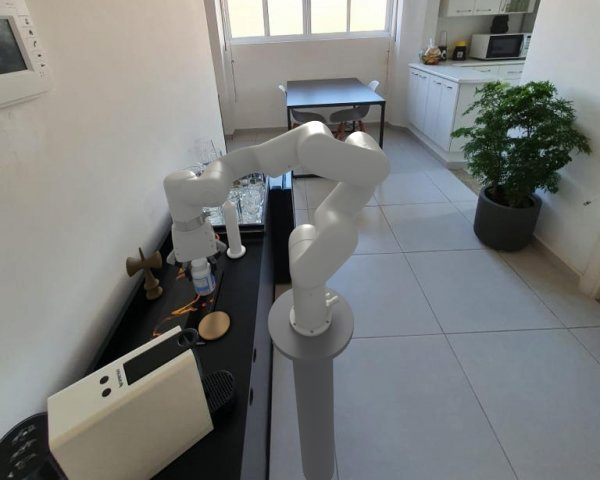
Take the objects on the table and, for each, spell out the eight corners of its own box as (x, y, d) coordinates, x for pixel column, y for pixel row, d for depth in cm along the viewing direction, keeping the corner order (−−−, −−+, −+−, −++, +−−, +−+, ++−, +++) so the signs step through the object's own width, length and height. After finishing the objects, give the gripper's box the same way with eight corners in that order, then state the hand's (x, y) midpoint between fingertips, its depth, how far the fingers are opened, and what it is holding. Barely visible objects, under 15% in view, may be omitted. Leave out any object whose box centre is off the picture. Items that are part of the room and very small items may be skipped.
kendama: (140, 292, 105) (123, 245, 97) (170, 284, 108) (156, 237, 100) (138, 306, 100) (120, 257, 92) (169, 297, 102) (155, 249, 94)
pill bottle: (206, 278, 89) (200, 251, 85) (219, 285, 87) (214, 257, 83) (191, 291, 85) (184, 264, 81) (205, 299, 82) (198, 271, 78)
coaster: (223, 307, 97) (223, 306, 97) (234, 329, 90) (234, 327, 90) (195, 322, 93) (194, 320, 93) (203, 346, 86) (203, 344, 86)
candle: (228, 247, 124) (218, 193, 114) (245, 245, 125) (237, 191, 114) (226, 259, 118) (215, 203, 107) (245, 257, 118) (236, 201, 108)
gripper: (223, 204, 82) (232, 258, 89) (153, 218, 77) (169, 273, 85) (225, 220, 75) (235, 276, 83) (150, 236, 71) (167, 294, 78)
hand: (202, 274), depth 84 cm, fingers closed on pill bottle, 5 cm apart
